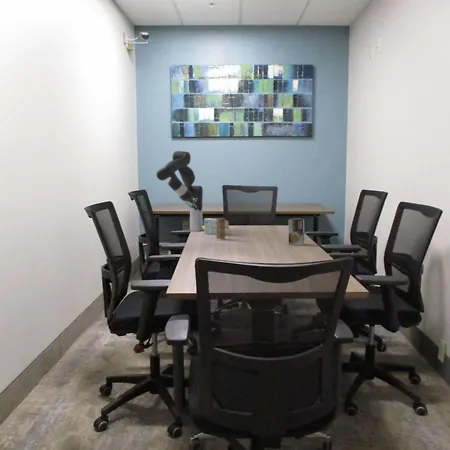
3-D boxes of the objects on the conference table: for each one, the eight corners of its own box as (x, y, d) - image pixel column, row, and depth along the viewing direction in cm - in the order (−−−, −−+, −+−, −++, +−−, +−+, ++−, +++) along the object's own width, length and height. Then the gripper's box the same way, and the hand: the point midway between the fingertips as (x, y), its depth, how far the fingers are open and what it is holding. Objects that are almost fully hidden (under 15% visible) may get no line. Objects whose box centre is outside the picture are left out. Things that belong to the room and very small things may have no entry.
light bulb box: (220, 232, 328) (219, 218, 327) (219, 234, 322) (218, 219, 320) (205, 232, 329) (205, 217, 328) (204, 234, 323) (203, 219, 321)
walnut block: (216, 239, 302) (216, 218, 300) (221, 238, 305) (221, 217, 303) (220, 240, 299) (219, 218, 297) (225, 239, 301) (224, 218, 299)
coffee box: (304, 243, 284) (305, 218, 281) (302, 245, 278) (303, 219, 275) (290, 243, 287) (290, 217, 284) (288, 245, 281) (288, 219, 278)
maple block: (220, 234, 319) (220, 220, 317) (225, 234, 321) (225, 220, 320) (224, 235, 316) (223, 221, 314) (228, 235, 318) (228, 220, 317)
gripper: (192, 187, 275) (208, 206, 284) (179, 186, 287) (196, 204, 296) (184, 196, 273) (201, 215, 282) (172, 195, 284) (189, 213, 293)
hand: (198, 209), depth 289 cm, fingers open, 4 cm apart
